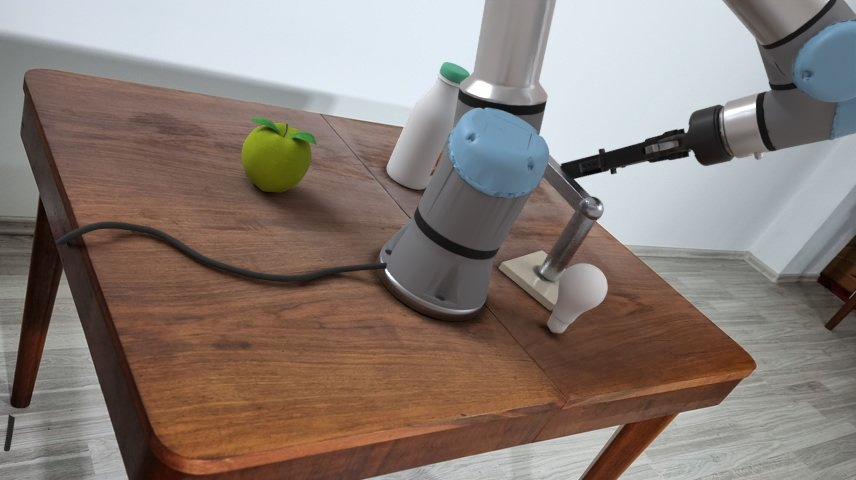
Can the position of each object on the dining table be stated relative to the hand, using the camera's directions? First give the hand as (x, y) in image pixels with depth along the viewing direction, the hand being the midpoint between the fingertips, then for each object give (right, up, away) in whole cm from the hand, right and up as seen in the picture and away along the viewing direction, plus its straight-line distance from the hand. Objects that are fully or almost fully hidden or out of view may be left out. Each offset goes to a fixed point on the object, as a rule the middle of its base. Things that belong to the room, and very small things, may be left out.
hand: (564, 172), depth 109 cm
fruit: (-45, -4, -9) cm, 46 cm away
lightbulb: (-5, -24, -12) cm, 27 cm away
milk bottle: (-24, 0, +11) cm, 26 cm away
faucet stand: (-4, -17, -1) cm, 17 cm away
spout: (-5, -12, +2) cm, 13 cm away
